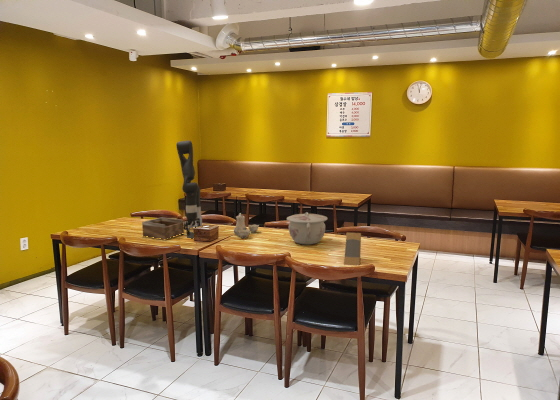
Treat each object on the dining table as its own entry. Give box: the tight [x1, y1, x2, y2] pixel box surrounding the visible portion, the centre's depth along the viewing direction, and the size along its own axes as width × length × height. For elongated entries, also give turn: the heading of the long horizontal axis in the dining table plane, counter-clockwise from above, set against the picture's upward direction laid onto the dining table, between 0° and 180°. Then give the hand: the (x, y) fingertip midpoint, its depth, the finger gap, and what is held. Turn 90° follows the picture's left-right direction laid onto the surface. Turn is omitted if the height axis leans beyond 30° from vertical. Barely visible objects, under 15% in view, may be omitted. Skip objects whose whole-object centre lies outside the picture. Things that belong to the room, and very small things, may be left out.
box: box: [141, 216, 185, 240], centre depth 300 cm, size 19×22×11 cm
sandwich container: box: [343, 232, 362, 266], centre depth 232 cm, size 9×15×15 cm, turn 165°
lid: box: [186, 231, 194, 239], centre depth 287 cm, size 17×20×6 cm
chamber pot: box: [286, 211, 328, 246], centre depth 275 cm, size 28×28×21 cm
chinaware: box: [233, 212, 260, 239], centre depth 299 cm, size 28×17×17 cm, turn 167°
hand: (192, 234), depth 287 cm, fingers open, 8 cm apart
